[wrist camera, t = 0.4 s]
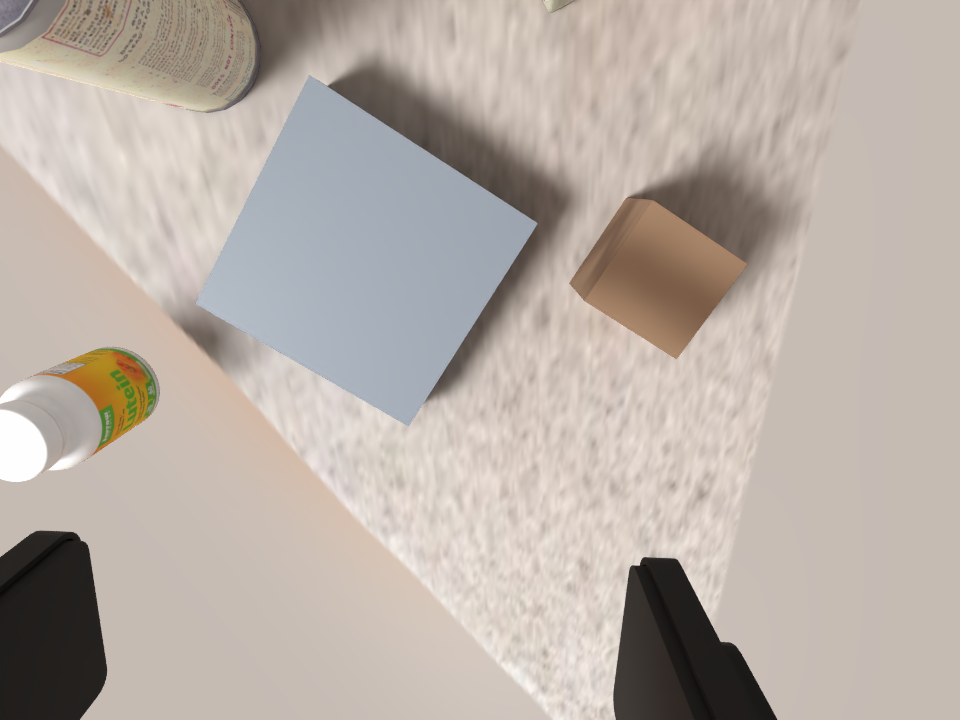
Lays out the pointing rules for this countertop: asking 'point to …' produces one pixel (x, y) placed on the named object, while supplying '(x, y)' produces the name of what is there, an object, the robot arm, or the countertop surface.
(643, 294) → the walnut cube
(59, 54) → the aerosol can
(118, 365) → the supplement bottle
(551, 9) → the skincare box
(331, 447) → the countertop surface
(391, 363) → the slate base block
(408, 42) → the countertop surface
